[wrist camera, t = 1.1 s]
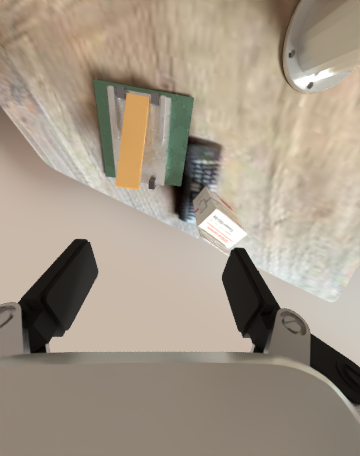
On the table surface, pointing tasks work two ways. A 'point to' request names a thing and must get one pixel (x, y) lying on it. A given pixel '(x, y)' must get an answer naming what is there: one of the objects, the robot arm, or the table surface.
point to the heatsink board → (174, 135)
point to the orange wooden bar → (132, 141)
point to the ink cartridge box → (217, 221)
